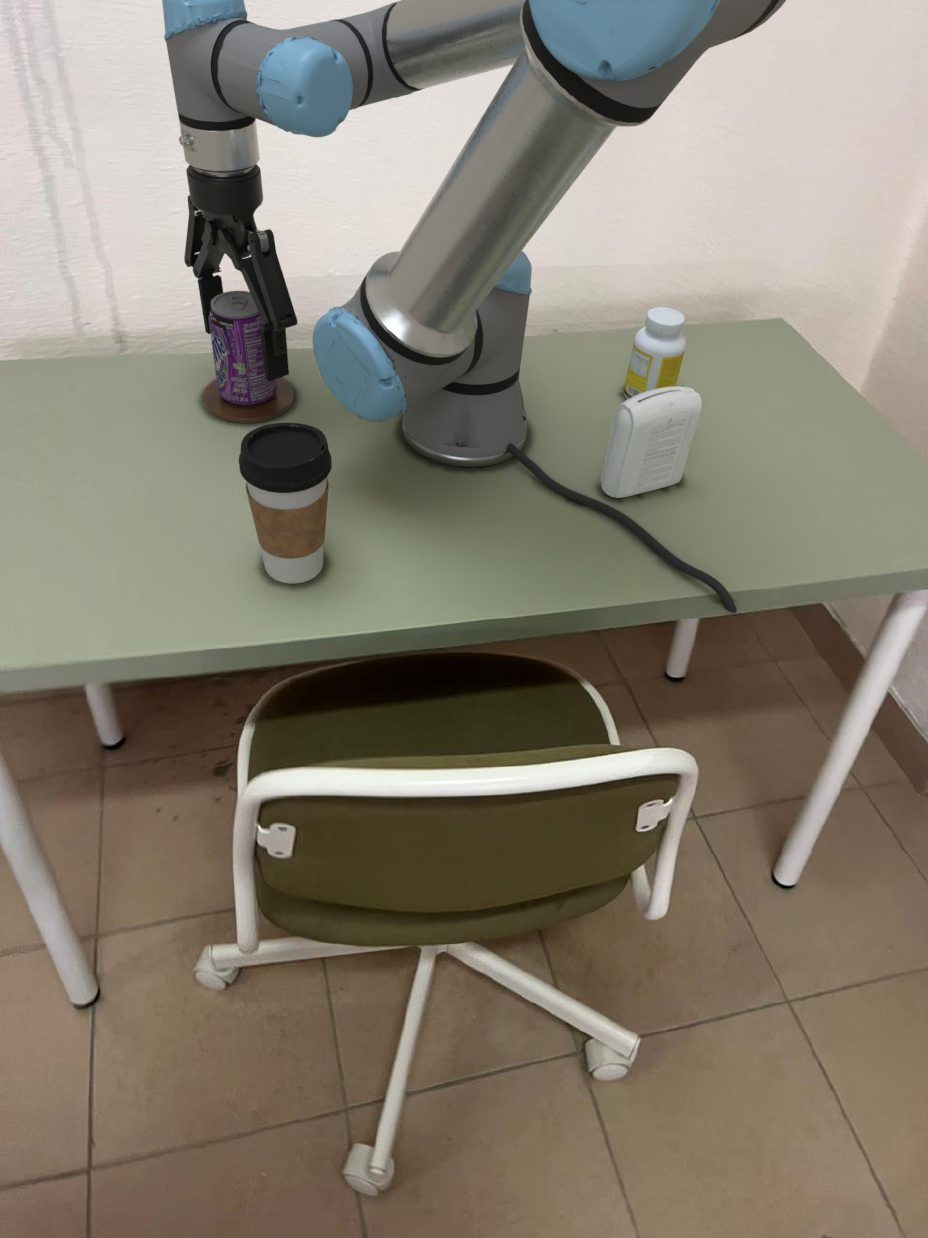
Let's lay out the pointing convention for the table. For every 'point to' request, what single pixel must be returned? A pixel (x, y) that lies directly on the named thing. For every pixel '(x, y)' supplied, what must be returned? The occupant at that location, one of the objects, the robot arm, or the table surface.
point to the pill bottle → (656, 352)
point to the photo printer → (650, 441)
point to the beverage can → (239, 349)
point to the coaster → (249, 412)
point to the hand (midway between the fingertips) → (246, 352)
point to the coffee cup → (288, 496)
